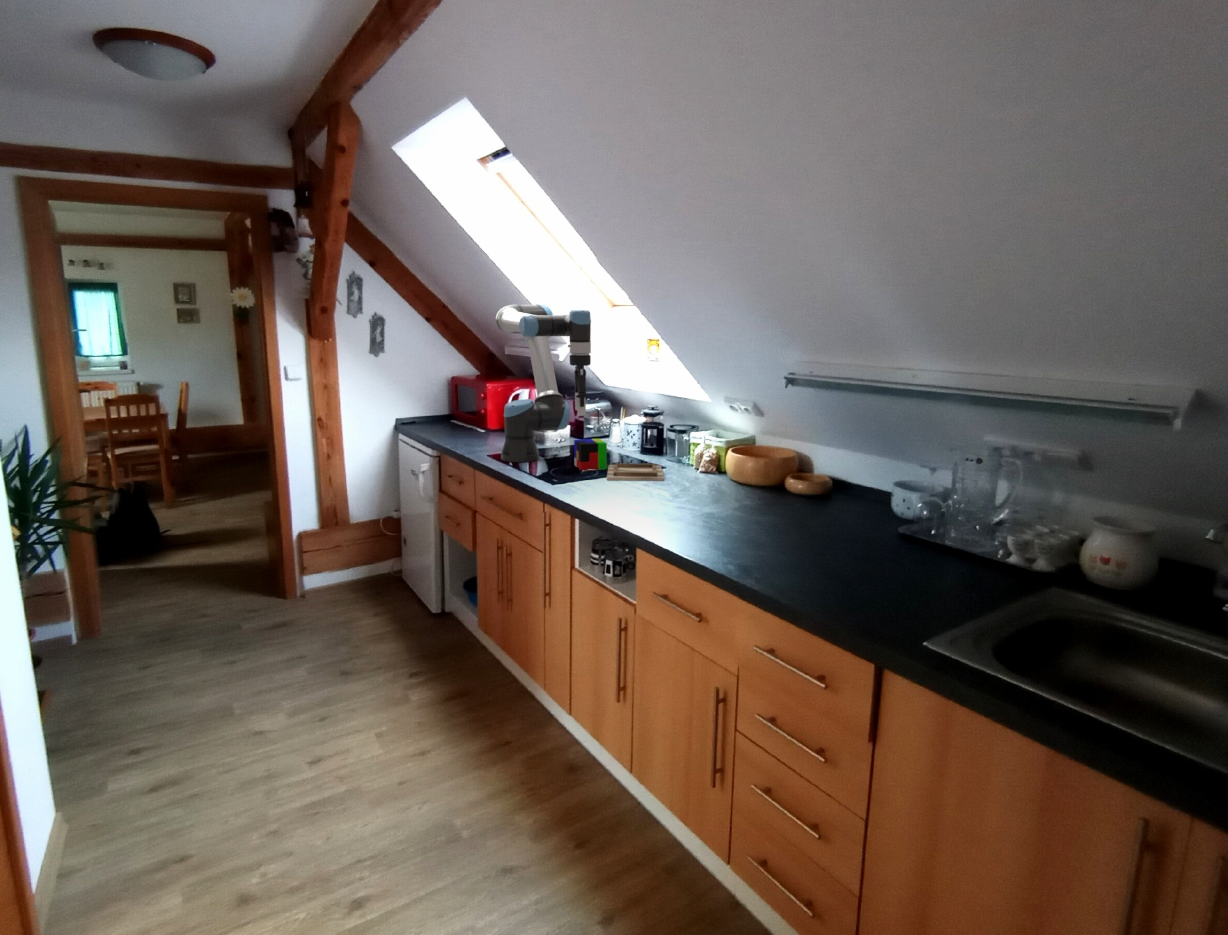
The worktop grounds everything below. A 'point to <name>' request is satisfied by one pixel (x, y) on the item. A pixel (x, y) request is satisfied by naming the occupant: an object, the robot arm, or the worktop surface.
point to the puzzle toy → (590, 454)
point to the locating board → (635, 472)
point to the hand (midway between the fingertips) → (580, 412)
